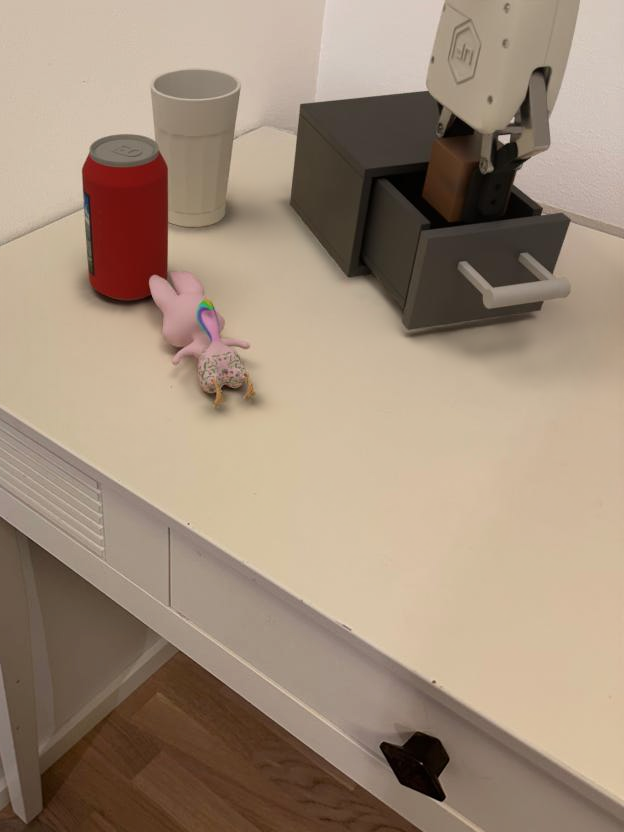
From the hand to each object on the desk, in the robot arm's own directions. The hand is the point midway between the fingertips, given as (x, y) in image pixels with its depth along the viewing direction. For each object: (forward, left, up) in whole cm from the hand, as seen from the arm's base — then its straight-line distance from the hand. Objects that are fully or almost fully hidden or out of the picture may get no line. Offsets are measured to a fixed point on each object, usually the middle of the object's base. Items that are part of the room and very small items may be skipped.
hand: (463, 201), depth 68 cm
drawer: (0, +1, -7) cm, 8 cm away
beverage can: (+25, -8, -9) cm, 28 cm away
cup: (+16, -20, -9) cm, 27 cm away
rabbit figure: (+22, +3, -9) cm, 24 cm away
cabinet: (0, -12, -8) cm, 15 cm away
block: (0, 0, 0) cm, 0 cm away
